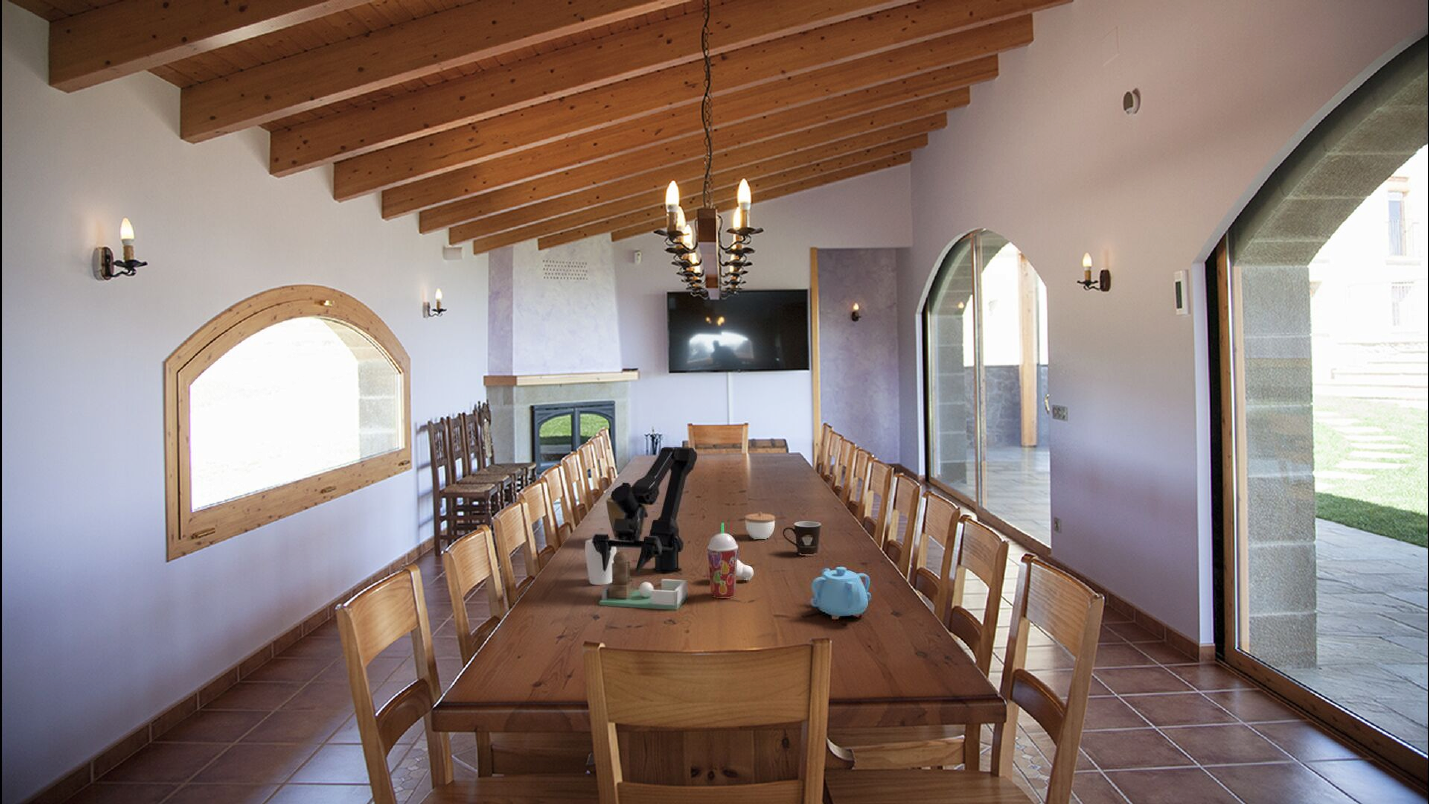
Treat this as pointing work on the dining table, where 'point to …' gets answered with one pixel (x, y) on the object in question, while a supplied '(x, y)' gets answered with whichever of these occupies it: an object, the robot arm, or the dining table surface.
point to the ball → (645, 589)
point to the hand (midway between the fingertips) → (620, 571)
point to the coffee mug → (806, 536)
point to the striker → (621, 577)
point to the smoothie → (722, 564)
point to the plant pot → (618, 514)
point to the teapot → (841, 592)
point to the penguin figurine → (744, 571)
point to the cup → (598, 565)
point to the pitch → (651, 597)
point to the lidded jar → (760, 525)
